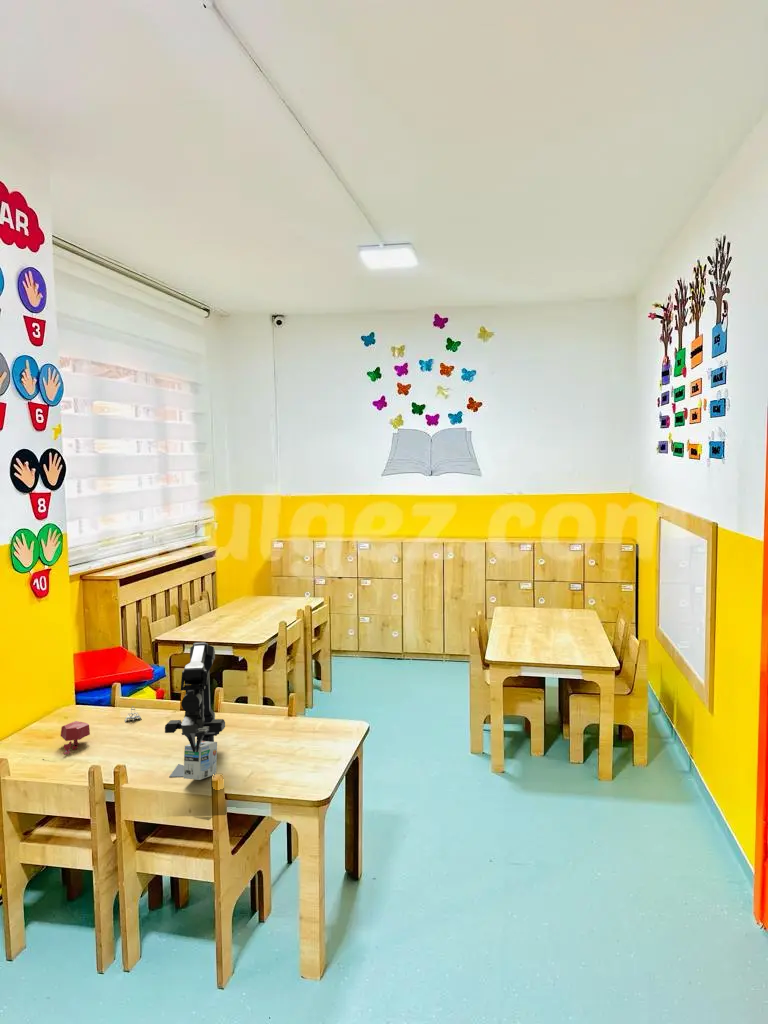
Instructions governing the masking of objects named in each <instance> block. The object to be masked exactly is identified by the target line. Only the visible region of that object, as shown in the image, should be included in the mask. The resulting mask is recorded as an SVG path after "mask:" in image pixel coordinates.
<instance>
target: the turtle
mask: <svg viewBox="0 0 768 1024" xmlns="http://www.w3.org/2000/svg"><path fill="white" fill-rule="evenodd" d="M90 731H91V730H90V724H89V723H87V722H83V721H78V720H74V721H72V722H70V723H67V724H65V725H62V726H61V728H60V737H61V738H62V739H63V740H64V741H65V742H68V744H66V743H65V744H64V745H63V748H64V750H65V751H64V752H63V755H65V754H68V755H70V754H69V753H70V752H71V751H70V749H71V750H74V751H75V750H76V749H78V746H79V745H78V744H79V742H78V741H80V740H82V739H84V738H85V737H88V736H90V735H91V732H90ZM72 741H73V743H72ZM74 745H77V746H74Z"/></svg>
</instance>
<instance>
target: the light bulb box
mask: <svg viewBox="0 0 768 1024" xmlns="http://www.w3.org/2000/svg"><path fill="white" fill-rule="evenodd" d="M195 744H196V742H195ZM217 752H218V742H217V741H214V742H210V741H202V742H201V745H200V748H199V751H198V752H196V749H195V752H193V750H192V748H191V745H190V743H188V744H186V745H184V752H183V756H184V757H183V765H184V777H183V780H185V779H186V780H196V781H197V780H198V781H200V780H204V779H206V778H209V777H213V776H212V775H213V774H214V775H216V774H217V762H218V761H217V759H218V757H217V756H218V755H217V754H218V753H217ZM215 773H216V774H215Z"/></svg>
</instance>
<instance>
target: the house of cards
mask: <svg viewBox="0 0 768 1024" xmlns="http://www.w3.org/2000/svg"><path fill="white" fill-rule="evenodd" d="M130 711H131V712H130V713H127V716H126V717H125V719H124V722H125V723H126V722H127V721H131V720H132V721H135V720H138V721H139V720H140V719H142V717H141V715H140V714H139V713H138V712H132V711H136V708H135V706H134V705H132V707H131V708H130Z"/></svg>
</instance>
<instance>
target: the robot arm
mask: <svg viewBox="0 0 768 1024" xmlns="http://www.w3.org/2000/svg"><path fill="white" fill-rule="evenodd" d="M189 659H190V661H189V662H188V663H187V664H185V666H184V668H183V670H182V671H181V680H180V691H182V692H183V691H185V693H184V696H183V698H182V700H181V702H180V703H181V704H180V705H181V709H182V710H183V711H184V717H183V718H182V720H181V719H172V720H171V719H170V720H169V721H168V722H167V723H166V724H165V726H164V733H165V734H170V733H171V734H175V732H176V731H177V730H181V736H185V737H186V738H187V740H188V742H189V744H190V745H191V748H192V750H193V752H195V749H196V752H198V751H199V748H200V745H201V742H202V741H210V742H215V737H217V736H218V735H220V733H221V732H222V731H223V730H224V729H225V728H226V722H225V719H223V718H217V719H216V713H215V712H214V711H213V709H212V707H211V690H210V689H211V688H210V687H211V685H210V683H211V682H210V681H211V679H210V670H211V669H212V666H213V663H214V660H216V650H215V647H214V646H213V645H210V644H208V642H207V643H206V642H194V643H193V644H192V646H190V649H189ZM195 743H196V744H195Z"/></svg>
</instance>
